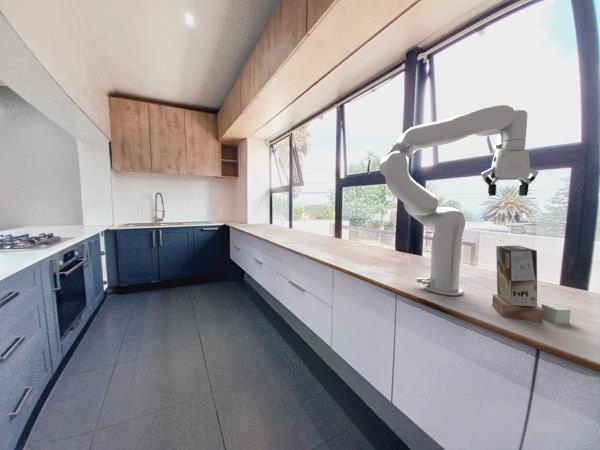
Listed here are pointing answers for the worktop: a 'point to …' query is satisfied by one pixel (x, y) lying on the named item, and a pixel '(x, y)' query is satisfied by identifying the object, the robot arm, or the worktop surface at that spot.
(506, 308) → the base block
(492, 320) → the worktop surface
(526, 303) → the coffee box
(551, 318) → the cube
